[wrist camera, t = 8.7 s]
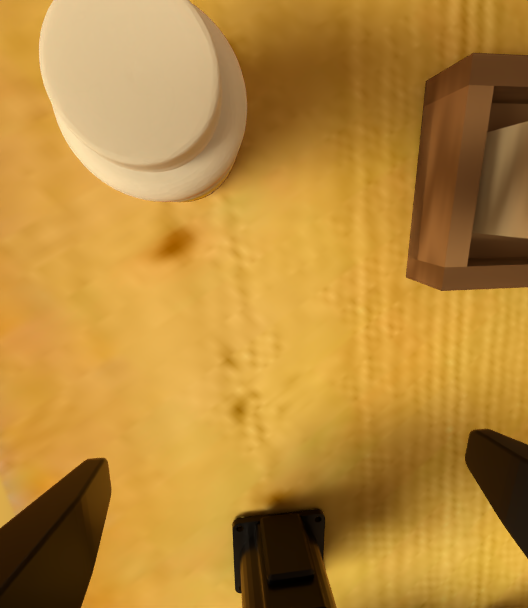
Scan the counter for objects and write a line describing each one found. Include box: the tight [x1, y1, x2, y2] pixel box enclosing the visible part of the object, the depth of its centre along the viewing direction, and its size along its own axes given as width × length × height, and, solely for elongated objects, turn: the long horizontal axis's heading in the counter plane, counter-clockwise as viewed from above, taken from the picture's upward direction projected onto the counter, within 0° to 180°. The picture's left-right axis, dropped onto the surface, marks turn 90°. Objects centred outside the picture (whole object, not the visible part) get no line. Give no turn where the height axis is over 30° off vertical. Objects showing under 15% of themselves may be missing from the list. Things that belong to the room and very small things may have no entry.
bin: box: [406, 53, 528, 291], centre depth 18 cm, size 10×10×4 cm
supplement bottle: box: [39, 0, 247, 202], centre depth 13 cm, size 6×6×10 cm
